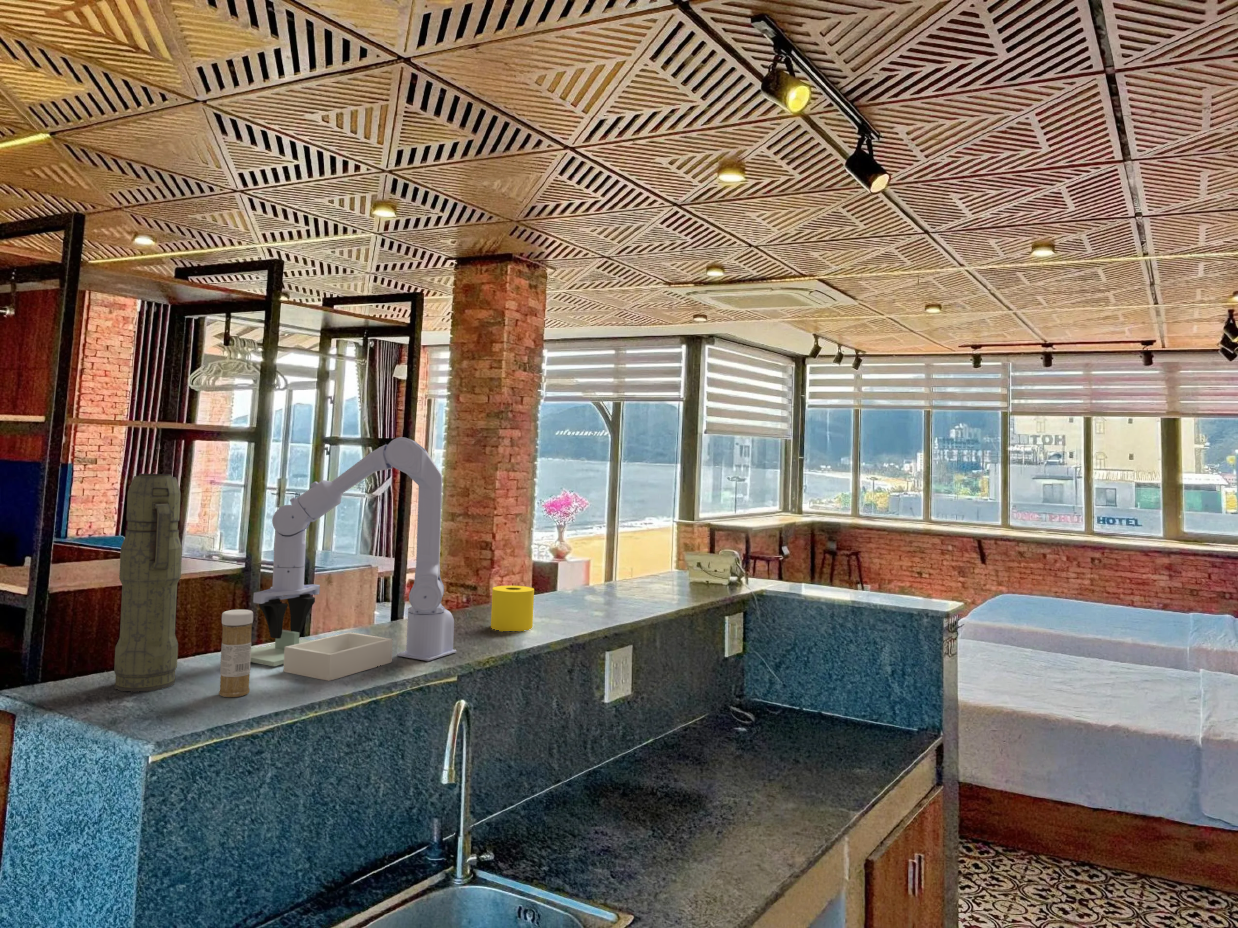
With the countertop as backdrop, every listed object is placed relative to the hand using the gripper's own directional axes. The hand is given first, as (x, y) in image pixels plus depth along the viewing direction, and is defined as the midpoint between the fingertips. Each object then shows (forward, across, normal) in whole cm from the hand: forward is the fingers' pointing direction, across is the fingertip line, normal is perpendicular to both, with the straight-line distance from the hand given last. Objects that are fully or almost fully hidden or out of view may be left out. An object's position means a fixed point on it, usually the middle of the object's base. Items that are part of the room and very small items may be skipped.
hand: (286, 635), depth 154 cm
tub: (+4, +1, +15) cm, 16 cm away
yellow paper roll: (+4, -49, +21) cm, 53 cm away
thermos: (+4, +27, -2) cm, 27 cm away
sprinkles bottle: (+4, +23, +14) cm, 27 cm away
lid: (+4, 0, 0) cm, 4 cm away
